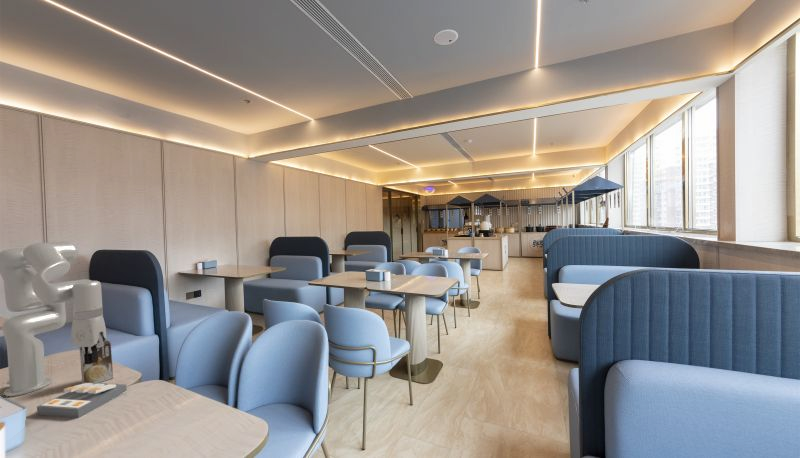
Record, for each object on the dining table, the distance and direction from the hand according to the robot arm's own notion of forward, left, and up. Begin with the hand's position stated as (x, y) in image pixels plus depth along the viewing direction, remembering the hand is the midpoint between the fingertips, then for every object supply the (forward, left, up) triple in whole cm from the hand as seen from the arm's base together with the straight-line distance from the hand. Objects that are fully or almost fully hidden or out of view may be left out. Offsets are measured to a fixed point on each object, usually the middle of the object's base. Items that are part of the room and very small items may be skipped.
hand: (91, 362), depth 111 cm
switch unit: (-6, +1, -16) cm, 17 cm away
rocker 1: (-11, +3, -12) cm, 17 cm away
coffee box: (-20, +16, -17) cm, 30 cm away
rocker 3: (0, +3, -12) cm, 13 cm away
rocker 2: (-6, +3, -12) cm, 14 cm away
